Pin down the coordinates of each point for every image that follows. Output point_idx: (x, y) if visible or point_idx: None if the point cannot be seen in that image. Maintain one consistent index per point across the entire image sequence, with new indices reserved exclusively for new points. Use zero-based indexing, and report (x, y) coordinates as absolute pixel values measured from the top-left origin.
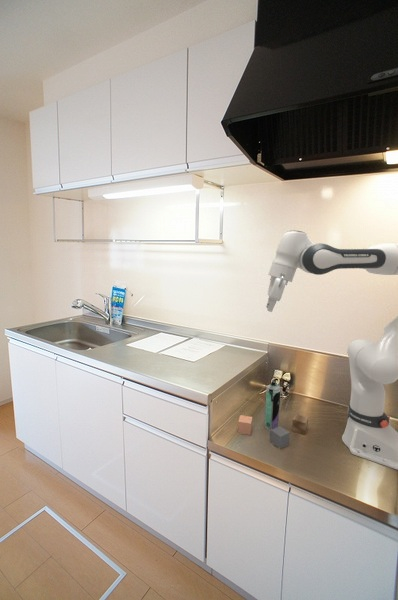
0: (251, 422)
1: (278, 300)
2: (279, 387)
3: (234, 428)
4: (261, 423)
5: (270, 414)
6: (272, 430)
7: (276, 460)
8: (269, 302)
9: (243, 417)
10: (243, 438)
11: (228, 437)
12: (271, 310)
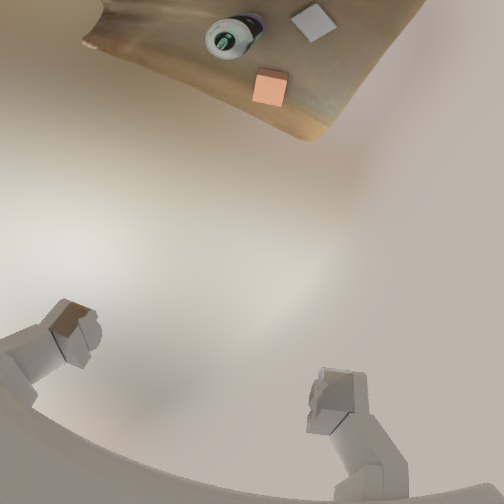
0: (277, 77)
1: (492, 489)
2: (225, 22)
3: None
4: None
5: (259, 36)
6: (312, 38)
7: (370, 42)
8: (52, 358)
9: (262, 94)
10: (302, 89)
11: (300, 117)
12: (364, 386)
